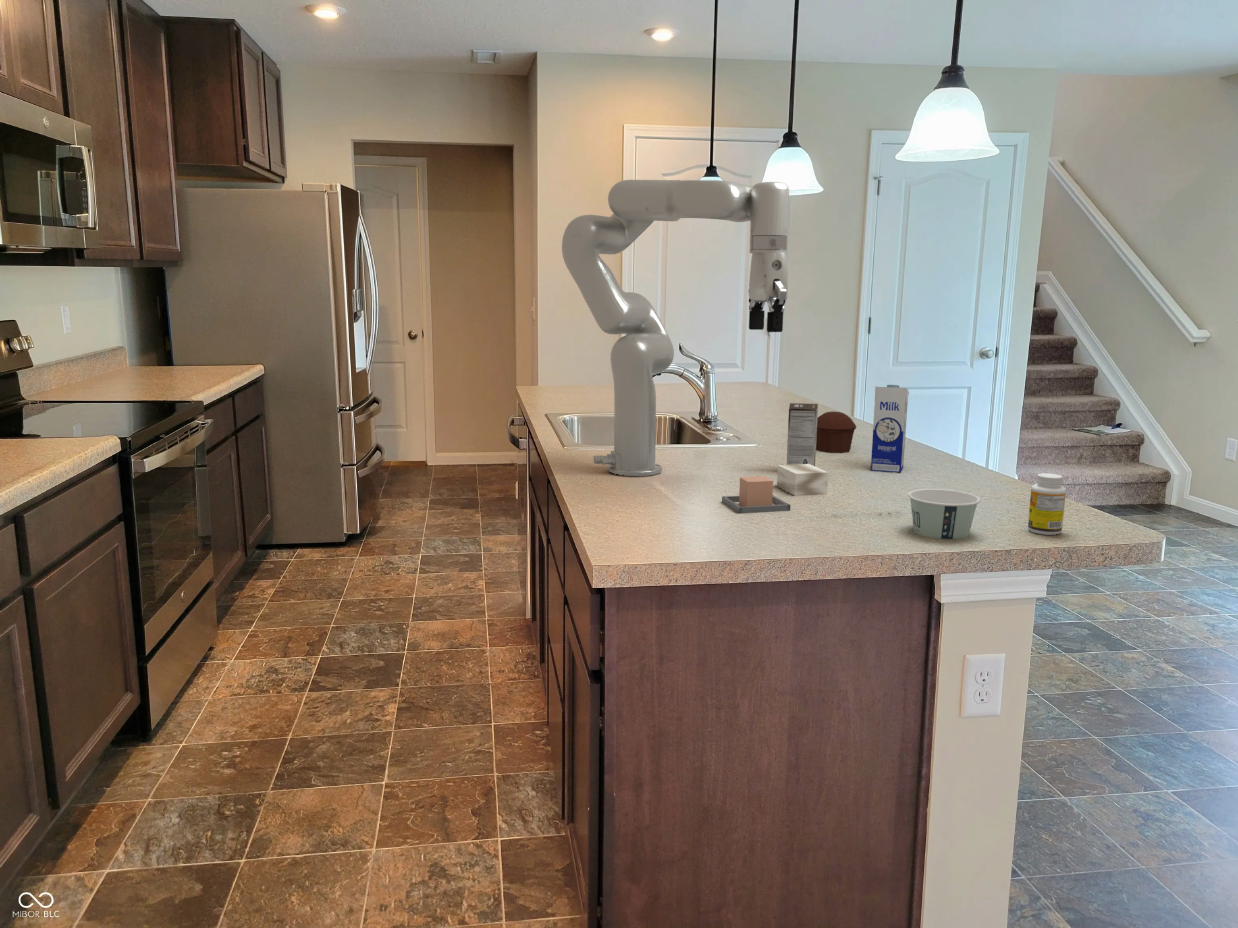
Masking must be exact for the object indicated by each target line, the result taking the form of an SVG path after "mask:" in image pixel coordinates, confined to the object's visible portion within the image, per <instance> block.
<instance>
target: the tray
mask: <svg viewBox="0 0 1238 928" xmlns="http://www.w3.org/2000/svg"><path fill="white" fill-rule="evenodd" d="M721 502H722V503H723V504H724V505H725V506H727V507H729V508H730V509H732V510H733V511H734V512H736V513H737V514H752V513H755V514H756V513H757V514H758V513H771V512H772V513H773V512H774V513H775V512H789V511H791V504H789V503H788V502H786V501H784V500H783V499H781V498H779V497H777V496H776V495H774V494H773V498H772V505H765V506H747V507H743V506H741V505H740V504H737V503H739V495H728V496H727V495H726V496H721Z"/></svg>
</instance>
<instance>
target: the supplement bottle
mask: <svg viewBox="0 0 1238 928" xmlns="http://www.w3.org/2000/svg"><path fill="white" fill-rule="evenodd" d="M1062 484H1063V476H1062V475H1059V474H1055V473H1049V472H1047V473H1046V472H1041V473H1038V474H1037V477H1036V483H1035V484H1033V485H1032V486H1031V489H1030V500H1029V509H1028V510H1029V512H1028V521H1027V528H1028V530H1029V531H1030V532H1032V533H1034V534H1038V535H1043V536H1056V534H1057V535H1060V534H1061V533H1062V531H1063V525H1064V516H1065V505H1066V495H1067V489H1066V488H1065V487H1064V486H1063V485H1062Z"/></svg>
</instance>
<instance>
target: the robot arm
mask: <svg viewBox="0 0 1238 928" xmlns="http://www.w3.org/2000/svg"><path fill="white" fill-rule="evenodd" d="M789 201H790V189H789V186H788V184H787V183H785V182H781V181H780V182H779V181H765V182H758V183H755V184H754V185H747V184H741V183H738V182H733V181H727V180H719V179H718V180H716V179H715V180H712V179H709V180H705V179H703V180H702V179H701V180H699V179H698V180H697V179H693V180H692V179H691V180H689V179H686V180H684V179H683V180H680V179H667V180H666V179H624V180H620V181H618V182H616V183H615V184H614V185H613V186H612V187H611V188H610V190H609V192H608V196H607V204H608V206H609V209H610V210H611V212H612V213H613V214H611V216H604V215H597V214H584V215H579V216H577V217H575V218H573V219H572V220H571V221H570V222H569V223H568V225H567V226H566V227H565V229H564V232H563V236H562V240H561V251H562V254H561V255H562V258H563V262H564V264H565V266H566V268H567V270H568V272H569V273H570V275H571V277H572V279H573V281H574V282H575V284H576V285H577V287H578V289H579V291H580V294H581V295H582V297H583V299H584V301H585V303H586V305H587V307H588V309H589V311H590V312H591V314H592V316H593V318H594V320H595V322H596V324H597V326H598V327H599V329H601V331H603V332H604V333H605V334H607V335H623V336H621V337H620V338H618V339H617V340H616V341H615V343H614V344H613V346H612V348H611V352H610V366H611V371H612V372H611V373H612V378H613V391H614V392H613V395H614V397H613V399H614V400H613V402H614V403H613V404H614V410H613V411H614V413H613V414H614V416H613V417H614V420H613V421H614V426H613V427H614V429H613V430H614V431H613V441H614V443H613V445H614V448H613V449H614V450H610V453H607V454H606V455H603V454H602V455H593V464H594V465H607V472H608V471H609V472H608V473H610V472H612V473H614V474H613V475H616V474H619V475H618V476H622V475H624V476H625V477H647V476H653V475H658V474H660V473H661V472H662V471H663V466H662V465H660V464H658V463H656V440H657V439H656V436H657V435H656V434H657V431H656V430H657V429H656V428H657V427H656V425H657V421H656V420H657V393H656V392H657V391H656V386H655V383H654V378H653V374H659V373H661V372H663V371H665V370H667V369H668V368H669V367H670V366H671V365H672V364H673V360H674V356H675V350H674V346H673V342H672V340H671V337H670V335H669V334H668V333H667V330H666V329H665V326H664V325H663V323H662V320H661V319H660V317H659V315H658V314H657V312H656V310H655V308H654V306H653V305H652V304H651V302H650V301H649V300H648V299H647V298H646V297H645V296H643V295H642V294H640V293H637V292H629V291H628V292H627V291H624V290H623V288H622V287H621V286H620V283H619V282H618V279H616V276H615V274H614V273H613V271H612V269H611V268H610V267H609V266H608V264H607V263H606V262H605V261H604V260H603V259H602V258H601V256H600V255H617V254H621V253H622V252H624V251H625V250H626V249H627V248H629V247H630V246H631V245H632V244H633V243H634V242H635V241H636V240H637V239H638V238H639V237H640V236H641V235H643V233H644V232H645V231H646V230H647V229H648V228H649V227H651V225H652V224H653V223H654V222H656V221H657V222H678V221H680V220H681V219H708V220H709V219H710V220H722V221H729V222H735V223H744V222H749V221H750V227H749V229H750V230H749V253H748V254H751V260H750V261H751V262H750V269H749V270H750V271H749V281H748V282H749V283H748V284H749V285H748V297H749V298H748V303H749V305H748V310H749V311H748V312H749V313H748V314H749V316H748V318H749V319H748V329H749V330H751V331H754V330H755V331H757V330H758V331H759V330H761V331H762V330H764V328H765V310H764V307H765V305H766V304H767V306H768V307H767V308H768V310H769V311H767V315H766V316H767V317H766V332H768V333H782V332H783V327H784V311H785V304H786V301H787V300H788V298H789V297H788V296H789V295H788V293H789V291H788V287H789V285H788V284H789V283H788V282H789V281H788V279H789V275H788V274H789V273H788V259H787V253H788V250H787V249H788V231H789V206H790V205H789V203H790V202H789ZM612 473H611V474H612Z"/></svg>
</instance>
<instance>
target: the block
mask: <svg viewBox="0 0 1238 928" xmlns="http://www.w3.org/2000/svg"><path fill="white" fill-rule="evenodd" d="M738 491H739V495H738V496H739V502H738V505H739V506H741V507H747V506H765V505H773V502H772V498H773V495H774V493H773V492H774V480H772V479H770V478H768V477H767V476H765V475H762V476H761V475H760V476H759V475H757V476H740V477H739V490H738Z"/></svg>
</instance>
